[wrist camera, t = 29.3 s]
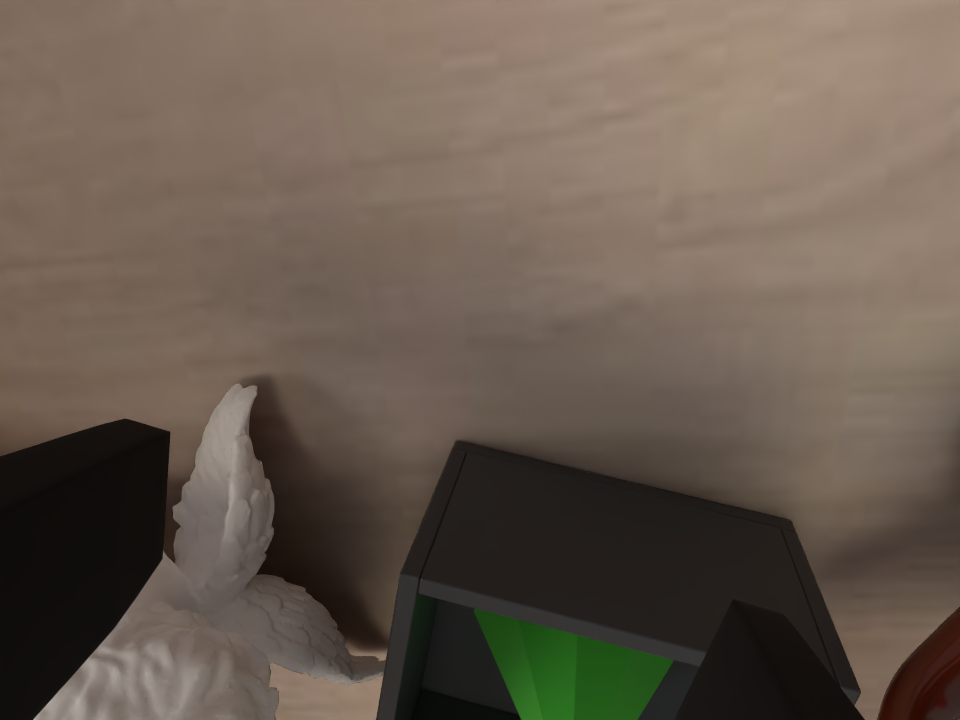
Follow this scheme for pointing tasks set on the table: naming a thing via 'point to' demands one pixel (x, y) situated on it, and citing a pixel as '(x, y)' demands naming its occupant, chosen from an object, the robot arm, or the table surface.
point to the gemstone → (570, 672)
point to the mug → (928, 679)
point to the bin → (581, 581)
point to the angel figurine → (212, 606)
